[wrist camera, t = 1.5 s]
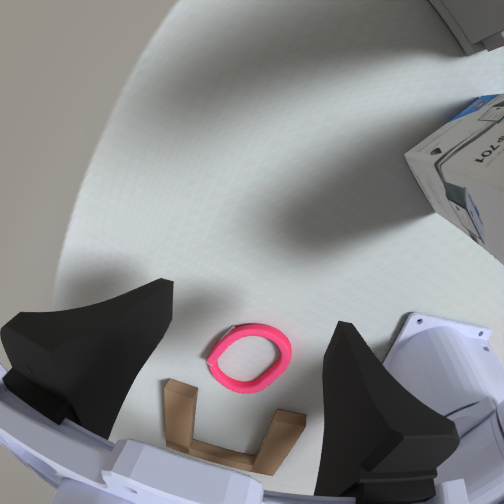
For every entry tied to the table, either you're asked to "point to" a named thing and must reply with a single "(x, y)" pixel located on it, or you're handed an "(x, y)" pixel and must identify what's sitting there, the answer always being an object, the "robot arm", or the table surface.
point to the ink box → (467, 172)
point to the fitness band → (269, 375)
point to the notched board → (181, 439)
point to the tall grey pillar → (474, 22)
